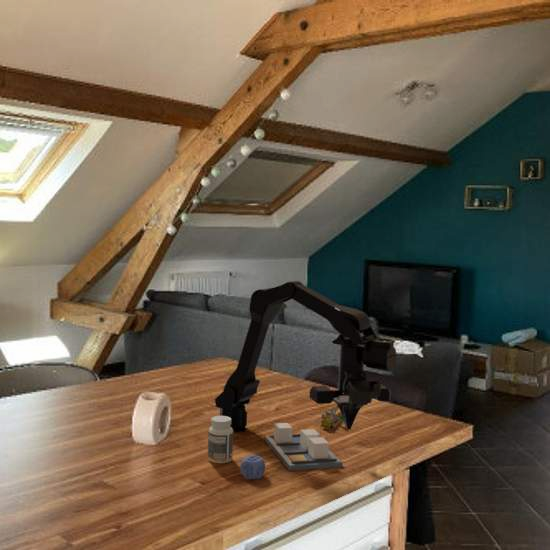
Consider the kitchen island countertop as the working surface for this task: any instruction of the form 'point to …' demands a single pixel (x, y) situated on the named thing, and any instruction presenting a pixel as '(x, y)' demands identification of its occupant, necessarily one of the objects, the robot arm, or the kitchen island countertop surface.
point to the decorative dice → (253, 467)
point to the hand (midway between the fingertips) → (348, 428)
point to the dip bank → (300, 455)
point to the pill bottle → (220, 440)
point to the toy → (331, 418)
